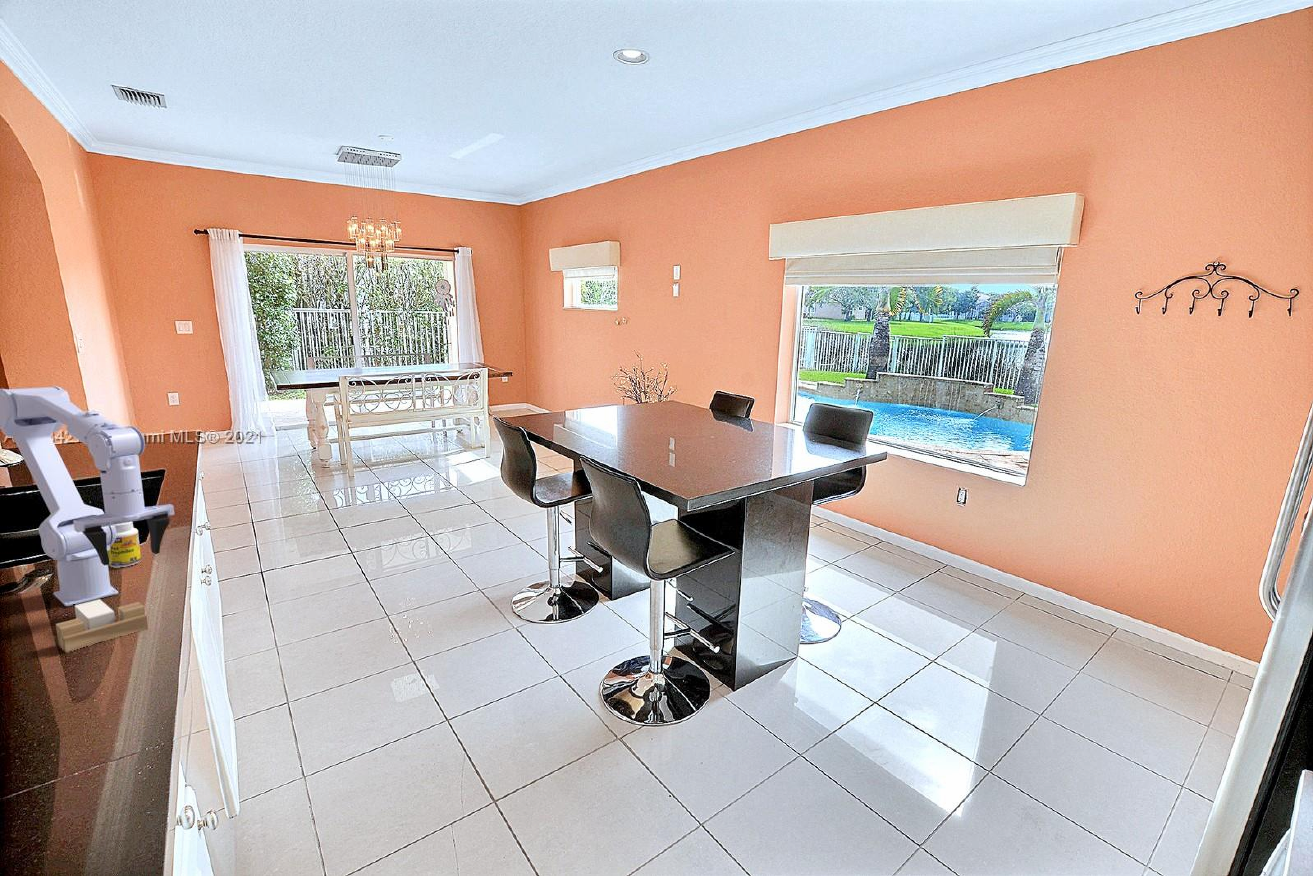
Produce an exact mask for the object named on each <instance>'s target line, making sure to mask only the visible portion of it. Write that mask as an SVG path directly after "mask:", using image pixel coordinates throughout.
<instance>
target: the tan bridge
mask: <svg viewBox="0 0 1313 876" xmlns="http://www.w3.org/2000/svg"><path fill="white" fill-rule="evenodd" d="M117 612H118V613H117V614H118V621H116V622H115V623H111V624H108V625H104V626H101V627H97V628H94V629H90V630H87V631H85V623H84V622H83V621H82V620H81V619H80V618H77V619H76V618H74V619H70V620H67V621H61V622H59V623H55V626H56V627H55V628H56V635H57V642H58V646H59V647H60V649H61V648H62V649H61V650H62V651H63V652H65V654H69V653H71V652H70V651H72V652H75V651H78V650H81V649H80V648H82V649H84V648H83V647H85V648H87V647H86V646H88V647H91V645H92V646H94V645H93V644H95V643H98V642H101V641H105V642H108V641H110V639H112V640H115V639H117V637H118V638H120V637H119V636H122V637H124V636H128V634H129V635H132V634H135V633H138V632H141V631H145V630H149V629H148V628H149V627H148V617H147V615H146V613H145V605H143V604H142V603H140V602H133V603H129V604H126V605H122V606H119V607H117ZM134 632H135V633H134ZM131 633H132V634H131ZM114 638H115V639H114ZM107 640H108V641H107ZM98 644H99V643H98ZM95 645H96V644H95ZM77 649H78V650H77ZM74 650H75V651H74Z"/></svg>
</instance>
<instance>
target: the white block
mask: <svg viewBox="0 0 1313 876" xmlns="http://www.w3.org/2000/svg"><path fill="white" fill-rule="evenodd" d="M74 611H75V612H74V613H75V619H77V618H80V619H81V620H82V621H83V622H84V623H85V631H87V630H90V629H94V628H97V627H101V626H104V625H108V624H111V623H115V622H117V621H116V615H115V613H116V612H115V611H114V610H113V609H112V608H111V607H110V606H109V605H107V604H106V603H105V602H103V601H102V599H101V598H99V599H95V600H91V601H87V602H83V603H79V604H75V605H74Z"/></svg>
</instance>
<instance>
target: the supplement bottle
mask: <svg viewBox="0 0 1313 876" xmlns="http://www.w3.org/2000/svg"><path fill="white" fill-rule="evenodd" d="M133 523H134V521H132V522H127V523H121V524H116V525H114V526H115V528H116V539H115V542H114V543H113V544H112V545H110V550H108V551H107V552H108V557H109V565H108V566H110V567H111V568H112V567H113V568H114V569H121V568H120V567H125V568H127V567H126V566H130V565H133V564H135V563H138V562H139V561H140V560H141V561H142V557H141V546H140V539H139V537H140V535H139V530H138V529H137V528H135V527H134V524H133ZM141 561H140V562H141ZM140 562H139V563H140ZM139 563H138V564H139ZM133 566H134V565H133ZM130 567H131V566H130Z"/></svg>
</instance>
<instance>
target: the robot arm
mask: <svg viewBox="0 0 1313 876" xmlns="http://www.w3.org/2000/svg"><path fill="white" fill-rule="evenodd" d="M63 425H65V427H66V431H67V433H68V434H69V436H71V437H73V438H74V439H76V440H78V441H79V442H81V443H82V444H84V445H85V446H87V447H88V451H89V453H90V455H91V457H92V459H93V461H94V466H95V468H96V469H97V470H99V475H100V476H99V477H100V483H101V489H102V490H101V491H102V497H103V506H104V511H103V509H101V508H98V507H94V506H91V505H88V504H85V503H84V500H82V497H81V495H80V493H79V491H78V489H77V487H76V486H75V483H74V481H73V479H72V476H71V475H70V473H69V470H68V468H67V467H66V465H65V463H64V460H63V459H62V457H61V455H60V452H59V451H58V449H57V447H56V445H55V442H54V440H53V439H52V434H54V433H56V432H58V431H60V430H61V429H62V427H63ZM0 430H1V432H2V434H3V435H5V436H7V437H9V438H13V440H14V442H15V444H16V445H17V448H18V451H20V455H21V456H22V458H23V460H24V462H25V465H26V467H27V468H28V471H29V472H30V474H31V476H32V479H33V481H34V483H35V484H36V486H37V488H38V490H39V492H40V494H41V497H42V498H43V501H44V502H45V504H46V507H47V509H48V511H49V513H50V514H49V516H47V518H45V519H44V521H42V522H41V523H40V525H39V527H38V533H39V536H40V539H41V540H40V541H41V547H42V549H43V552H44V553H45V555H46V556H48V557H49V558H51V559H53V560H57V563H56V570H57V577H58V584H59V590H57V591H54V592H53V596H55V598H57V600H59V601H60V602H61V604H63V605H64V607H71V606H74V605H73V604H75V605H79V604H83V603H87V602H91V601H95V600H98V599H102V598H106V597H109V596H111V597H112V596H114V595H118V594H119V591H118V590H117V589H116V588H114V587H113V586H112V585H111V580H110V579H111V578H110V572H109V570H110V569H109V566H110V565H109V557H108V550H110V545H112V544H113V543H114V542H115V539H116V528H115V526H114V525H116V524H121V523H127V522H137V521H143V520H146V523H147V525H148V530H149V532H148V533H149V537H150V538H149V539H150V550H151V553H153V554H155V555H158V554H161V553H160V552H161V544H162V542H163V541H162V540H163V537H164V534H165V532H166V531H167V528H168V526H169V525H170V522H171V518H170V516H174V515H175V510H174V509H175V507H174V505H173V504H171V503H169V504H162V505H153V506H145V499H144V491H143V483H142V476H141V466H140V458H139V456H141V455H142V454H143V453H144V452H145V448H146V442H145V437H144V435H143V434H142V432H141V431H140V430H139V429H138V428H137V427H136V426H133V425H130V426H129V425H128V426H119V424H117V423H115V422H114V421H111V420H110V419H108V418H106V417H104V416H103V415H101V414H100V413H99V411H97V410H85V411H84V410H81V409H80V408H79V407H78V406H77V405H75V404H74V403H73V402H71V399H70V395H69V393H68V391H67V390H65V389H63V387H60V386H57V385H55V386H49V387H31V388H30V387H27V388H25V387H24V388H9V389H8V388H7V389H5V388H0Z"/></svg>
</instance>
